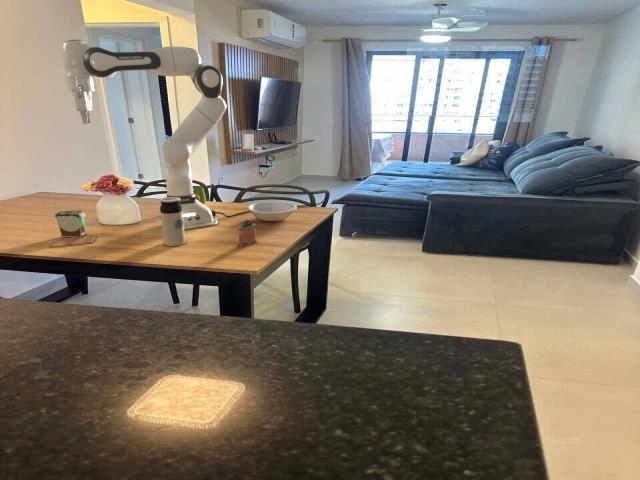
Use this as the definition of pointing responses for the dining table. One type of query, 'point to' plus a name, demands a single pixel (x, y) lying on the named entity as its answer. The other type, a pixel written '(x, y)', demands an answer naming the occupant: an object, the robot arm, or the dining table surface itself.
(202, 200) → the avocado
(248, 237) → the red tin
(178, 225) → the travel mug
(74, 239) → the cork pad
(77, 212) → the food container
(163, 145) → the robot arm
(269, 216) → the soup bowl
